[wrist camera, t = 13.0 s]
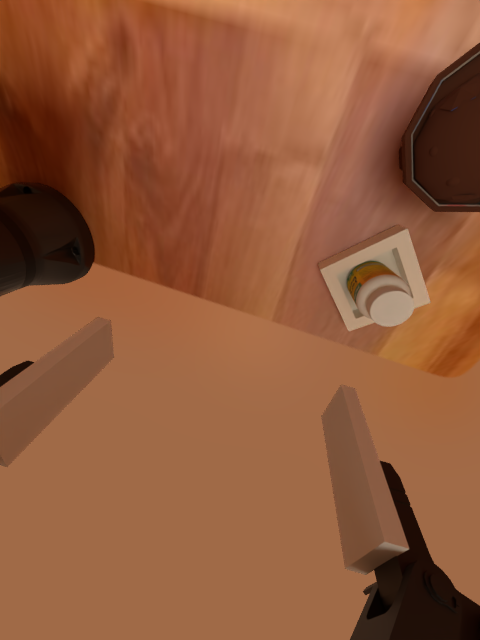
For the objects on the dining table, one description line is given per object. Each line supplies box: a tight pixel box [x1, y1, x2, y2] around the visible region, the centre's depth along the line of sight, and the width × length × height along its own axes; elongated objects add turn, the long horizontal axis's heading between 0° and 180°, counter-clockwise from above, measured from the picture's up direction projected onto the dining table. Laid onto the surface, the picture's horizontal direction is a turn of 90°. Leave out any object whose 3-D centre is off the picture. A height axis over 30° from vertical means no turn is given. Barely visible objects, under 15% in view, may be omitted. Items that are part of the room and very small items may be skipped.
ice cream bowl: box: [399, 43, 480, 212], centre depth 19 cm, size 11×11×15 cm
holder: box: [318, 225, 431, 331], centre depth 32 cm, size 10×10×3 cm
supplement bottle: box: [346, 260, 414, 327], centre depth 28 cm, size 5×5×10 cm
